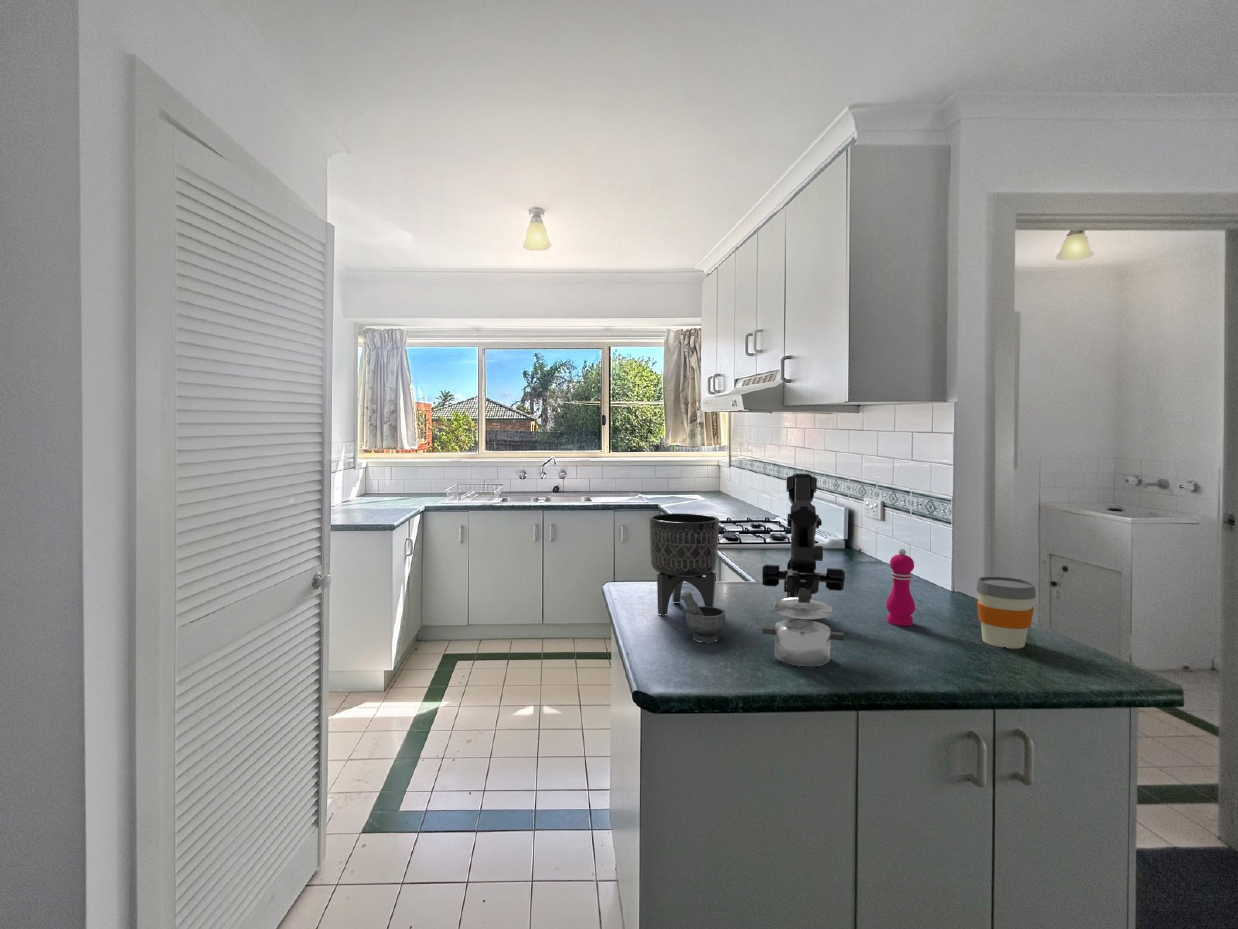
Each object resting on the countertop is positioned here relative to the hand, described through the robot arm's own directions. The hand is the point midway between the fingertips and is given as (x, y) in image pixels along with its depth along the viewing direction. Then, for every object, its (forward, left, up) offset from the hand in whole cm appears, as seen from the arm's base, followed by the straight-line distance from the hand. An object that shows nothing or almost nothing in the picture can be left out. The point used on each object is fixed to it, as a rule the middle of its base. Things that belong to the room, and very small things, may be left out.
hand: (802, 608), depth 153 cm
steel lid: (+3, -3, +1) cm, 4 cm away
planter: (-42, -3, -11) cm, 44 cm away
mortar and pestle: (-19, -14, -11) cm, 26 cm away
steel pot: (+2, -2, -10) cm, 11 cm away
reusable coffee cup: (+19, +49, -11) cm, 54 cm away
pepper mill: (-4, +41, -11) cm, 43 cm away
